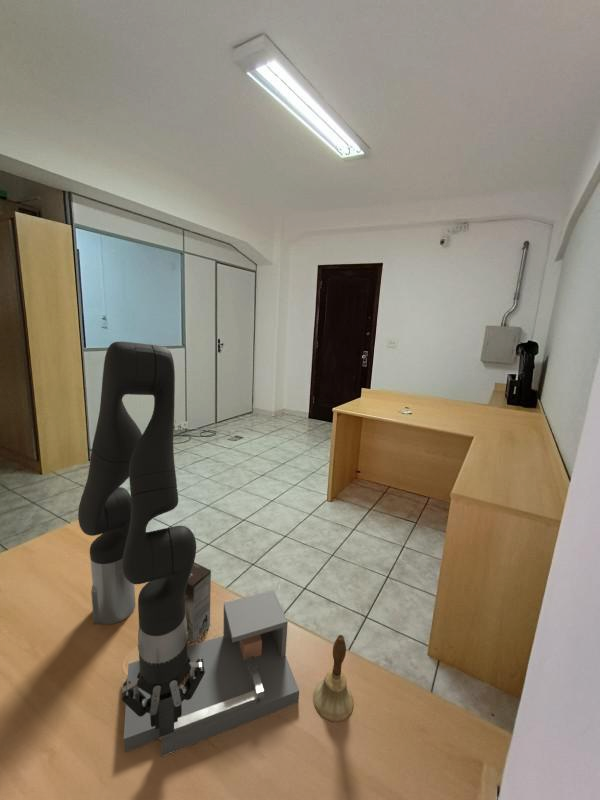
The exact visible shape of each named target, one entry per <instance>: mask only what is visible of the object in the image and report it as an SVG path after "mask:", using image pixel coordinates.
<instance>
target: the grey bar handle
mask: <svg viewBox="0 0 600 800" xmlns="http://www.w3.org/2000/svg"><path fill="white" fill-rule="evenodd" d="M247 669H248V673H249V677H250V680H251V684H252V688H253V691H251V692H248V693H246V694H243V695H240V696H237V697H235V698H232V699H229V700H226V701H224V702H221V703H218V704H216V705H213V706H210V707H207V708H205V709H202V710H199V711H196V712H194V713H191V714H188V715H185V716H183V717H180V718H178V722H175V723H174V703H173V699H172V694H171V692H169V693H164V694H163V695H161V696H160V697H159V704H158V710H159V734H160V739H159V740H160V741H161V739H164V738H166V737H169V736H172V735H174V734H177V733H179V732H182V731H185V730H187V729H190V728H193V727H195V726H198V725H200V724H203V723H206V722H208V721H211V720H214V719H216V718H219V717H221V716H224V715H227V714H229V713H232V712H235V711H237V710H240V709H242V708H245V707H248V706H250V705H253V704H256V703H258V702H261V701H263V700H264V689H263V686H262V682H261V679H260V676H259V672H258V669H257V666H256V662H255V659H254V656H250V657H247Z"/></svg>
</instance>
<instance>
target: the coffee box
mask: <svg viewBox="0 0 600 800" xmlns="http://www.w3.org/2000/svg"><path fill="white" fill-rule="evenodd" d="M211 580H212V570H211V569H210V568H208V567H206V566H203V565H201V564H199V563H197V562H195V561H194V564H193V567H192V571H191V574H190V576H189V580H188V583H187V587H186V592H185V614H186V620H187V631H188V638H187V641H189V642H191V643H195V641H197V639H198V638H199V637H200V636H201V635H202V634H203V633H204V632H205V631H206V630H207V629H208V628H209V627H210V625H211V593H212V591H211V588H212V587H211V585H212V584H211Z"/></svg>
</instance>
